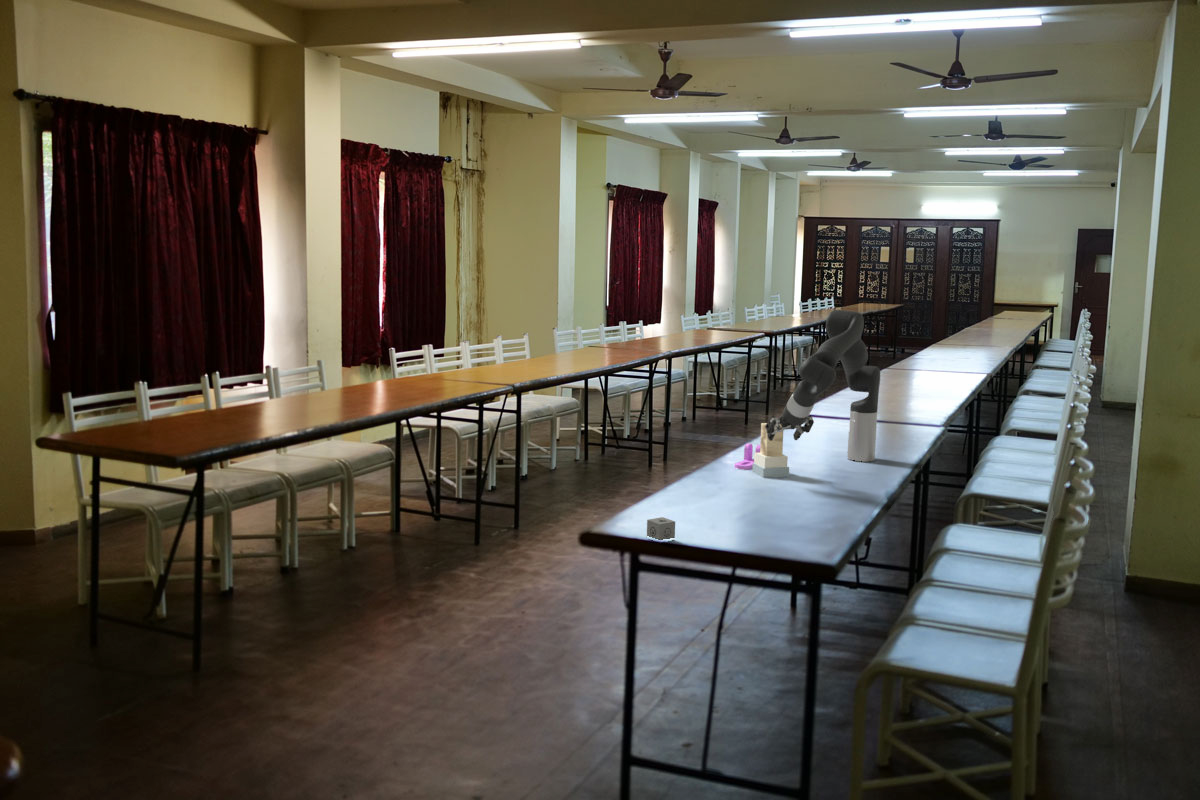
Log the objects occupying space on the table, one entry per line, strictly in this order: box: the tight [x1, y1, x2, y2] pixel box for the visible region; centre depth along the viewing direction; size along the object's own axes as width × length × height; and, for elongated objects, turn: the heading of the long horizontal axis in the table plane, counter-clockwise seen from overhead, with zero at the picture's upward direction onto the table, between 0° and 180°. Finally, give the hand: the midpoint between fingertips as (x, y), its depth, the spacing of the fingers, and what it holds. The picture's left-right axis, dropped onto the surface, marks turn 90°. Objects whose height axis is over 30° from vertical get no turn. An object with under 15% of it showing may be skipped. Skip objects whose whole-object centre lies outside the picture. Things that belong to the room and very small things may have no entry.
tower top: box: [753, 452, 789, 468], centre depth 343 cm, size 8×8×4 cm
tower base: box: [751, 463, 790, 479], centre depth 343 cm, size 9×9×4 cm
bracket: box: [734, 443, 761, 470], centre depth 355 cm, size 13×6×7 cm, turn 147°
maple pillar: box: [760, 422, 784, 456], centre depth 342 cm, size 6×6×10 cm
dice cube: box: [646, 516, 676, 540], centre depth 263 cm, size 5×5×5 cm
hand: (782, 438), depth 332 cm, fingers open, 8 cm apart
